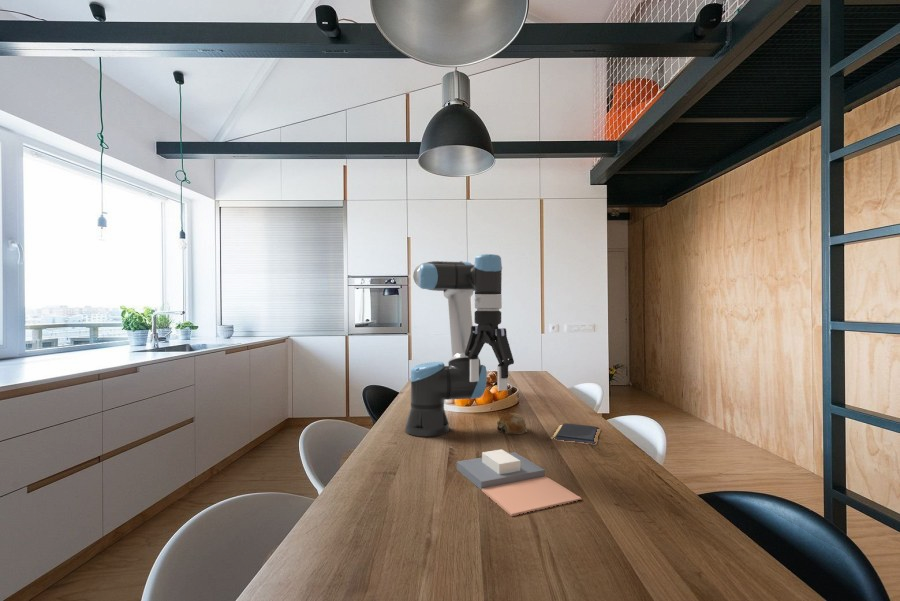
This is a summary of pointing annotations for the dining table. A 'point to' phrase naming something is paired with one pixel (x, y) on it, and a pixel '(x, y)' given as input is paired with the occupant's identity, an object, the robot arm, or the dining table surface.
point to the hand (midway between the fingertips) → (487, 385)
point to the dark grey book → (576, 433)
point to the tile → (501, 461)
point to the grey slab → (488, 477)
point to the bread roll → (512, 424)
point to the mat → (529, 495)
